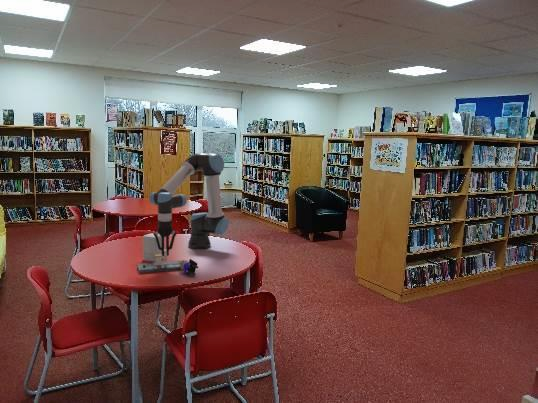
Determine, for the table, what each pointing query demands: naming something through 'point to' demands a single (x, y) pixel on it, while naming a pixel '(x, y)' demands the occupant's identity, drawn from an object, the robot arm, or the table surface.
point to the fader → (158, 259)
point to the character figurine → (188, 266)
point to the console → (159, 267)
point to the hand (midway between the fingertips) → (165, 261)
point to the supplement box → (151, 247)
